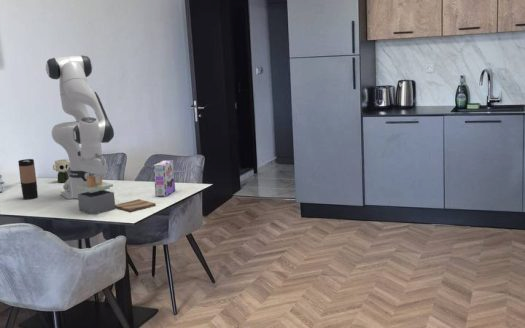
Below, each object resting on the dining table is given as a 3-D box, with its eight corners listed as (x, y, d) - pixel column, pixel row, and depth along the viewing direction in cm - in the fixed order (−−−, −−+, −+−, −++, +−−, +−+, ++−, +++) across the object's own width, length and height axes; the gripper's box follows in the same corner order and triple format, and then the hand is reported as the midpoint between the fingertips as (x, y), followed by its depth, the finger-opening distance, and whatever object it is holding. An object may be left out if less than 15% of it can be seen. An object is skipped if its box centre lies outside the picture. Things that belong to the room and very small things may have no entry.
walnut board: (114, 207, 270) (113, 205, 270) (139, 201, 280) (139, 199, 279) (130, 212, 260) (129, 209, 260) (155, 205, 270) (155, 203, 270)
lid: (77, 189, 266) (75, 177, 265) (100, 185, 274) (99, 172, 273) (89, 193, 257) (88, 180, 256) (113, 188, 266) (112, 176, 264)
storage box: (79, 210, 267) (77, 194, 266) (102, 205, 276) (100, 189, 274) (92, 214, 259) (90, 197, 257) (115, 209, 267) (113, 192, 266)
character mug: (57, 184, 329) (55, 162, 327) (51, 183, 334) (49, 161, 332) (75, 181, 337) (72, 159, 335) (69, 179, 342) (66, 158, 339)
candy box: (166, 197, 287) (163, 164, 284) (155, 196, 288) (152, 164, 285) (175, 190, 300) (173, 159, 297) (165, 190, 301) (162, 160, 298)
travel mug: (25, 196, 301) (20, 159, 298) (40, 195, 302) (35, 158, 298) (20, 200, 294) (15, 162, 290) (35, 199, 295) (31, 161, 291)
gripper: (109, 154, 257) (112, 184, 260) (87, 150, 272) (90, 178, 274) (97, 156, 253) (99, 186, 256) (74, 152, 267) (77, 180, 270)
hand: (94, 182), depth 265 cm, fingers closed on lid, 3 cm apart
